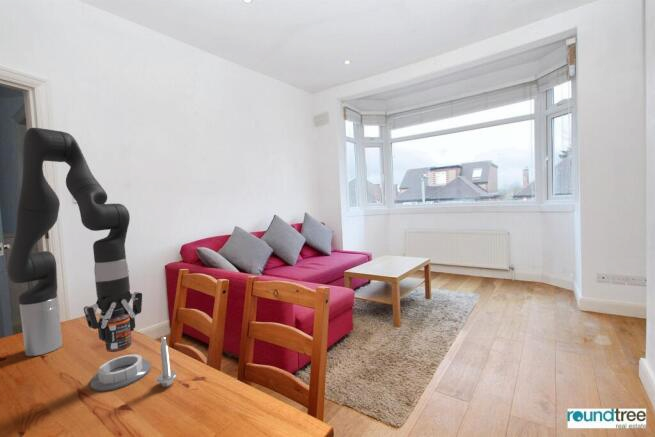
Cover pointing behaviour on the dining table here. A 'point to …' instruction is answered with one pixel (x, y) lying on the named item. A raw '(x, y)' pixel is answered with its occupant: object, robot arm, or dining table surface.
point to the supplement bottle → (118, 331)
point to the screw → (165, 366)
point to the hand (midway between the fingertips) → (118, 335)
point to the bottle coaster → (123, 383)
